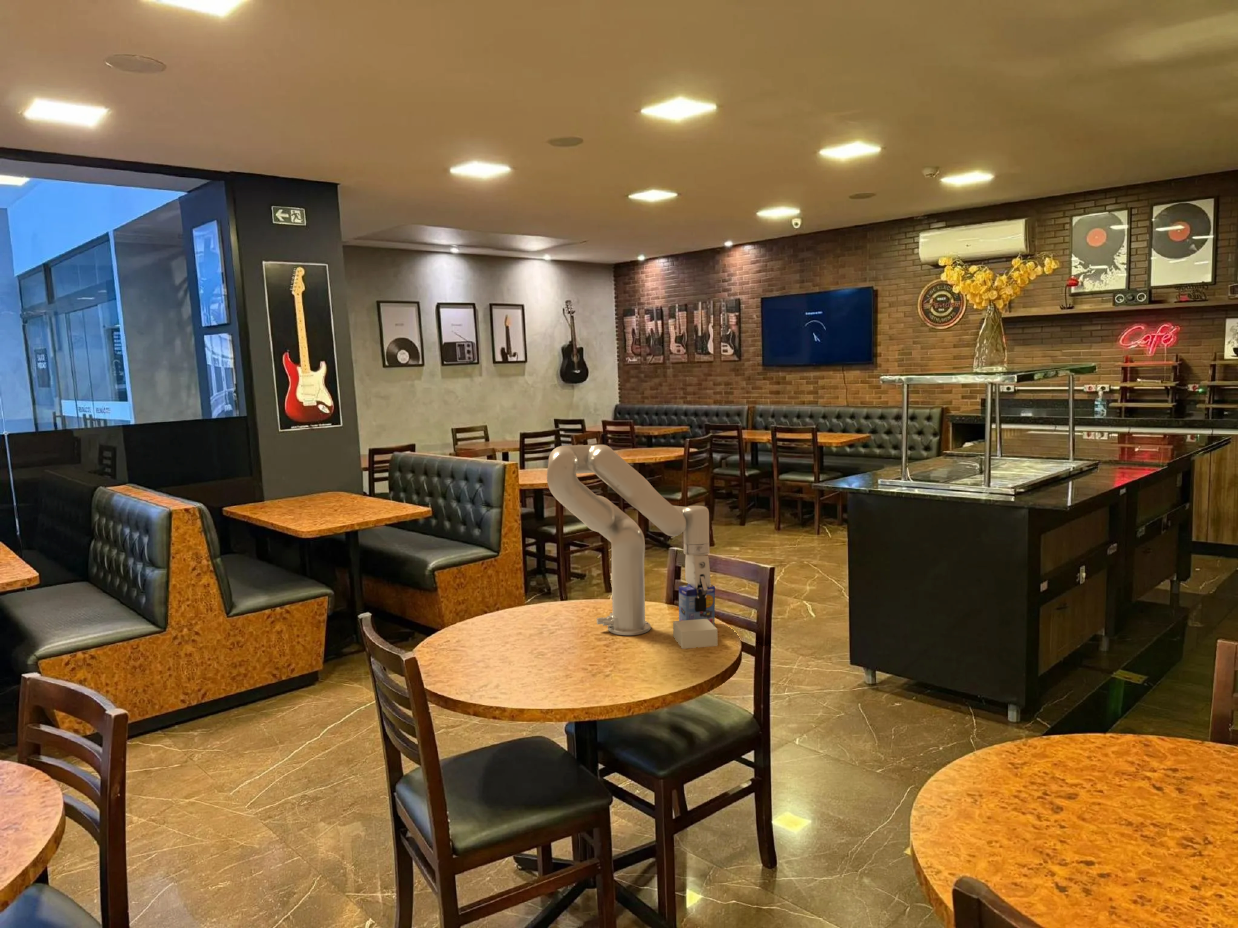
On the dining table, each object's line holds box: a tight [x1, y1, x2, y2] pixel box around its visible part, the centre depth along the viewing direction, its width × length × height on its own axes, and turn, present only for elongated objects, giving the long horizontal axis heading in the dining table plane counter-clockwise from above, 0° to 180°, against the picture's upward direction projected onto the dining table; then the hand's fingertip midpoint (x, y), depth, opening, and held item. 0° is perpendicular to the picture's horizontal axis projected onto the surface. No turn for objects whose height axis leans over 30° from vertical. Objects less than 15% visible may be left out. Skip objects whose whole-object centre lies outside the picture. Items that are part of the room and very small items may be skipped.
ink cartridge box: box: [678, 584, 716, 626], centre depth 250 cm, size 10×6×14 cm, turn 115°
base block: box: [672, 619, 719, 650], centre depth 236 cm, size 10×10×5 cm
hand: (696, 607), depth 250 cm, fingers closed on ink cartridge box, 5 cm apart
